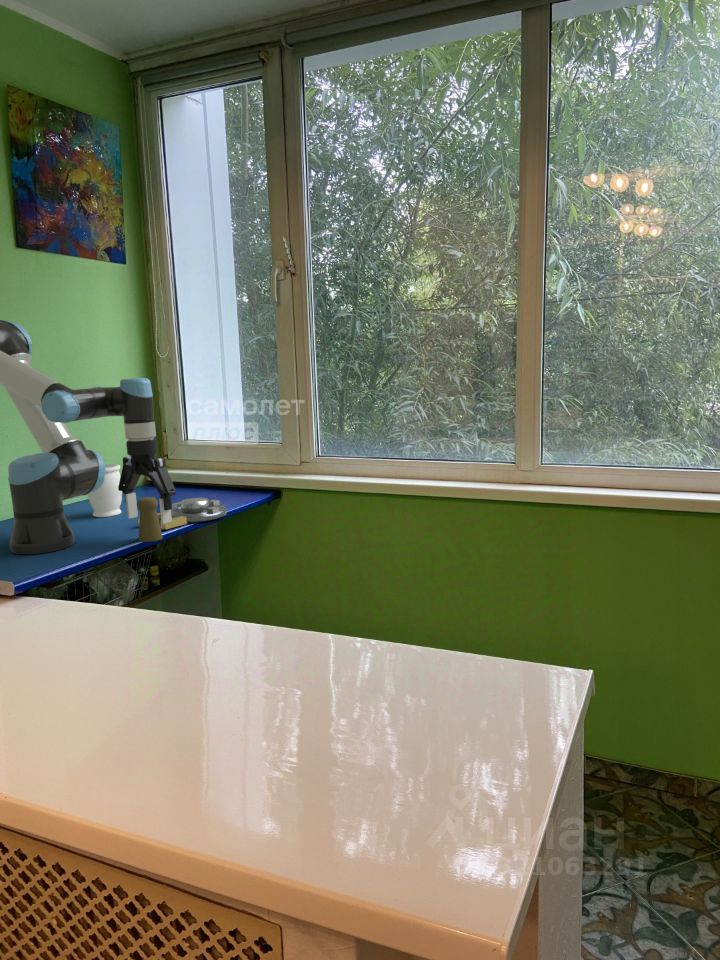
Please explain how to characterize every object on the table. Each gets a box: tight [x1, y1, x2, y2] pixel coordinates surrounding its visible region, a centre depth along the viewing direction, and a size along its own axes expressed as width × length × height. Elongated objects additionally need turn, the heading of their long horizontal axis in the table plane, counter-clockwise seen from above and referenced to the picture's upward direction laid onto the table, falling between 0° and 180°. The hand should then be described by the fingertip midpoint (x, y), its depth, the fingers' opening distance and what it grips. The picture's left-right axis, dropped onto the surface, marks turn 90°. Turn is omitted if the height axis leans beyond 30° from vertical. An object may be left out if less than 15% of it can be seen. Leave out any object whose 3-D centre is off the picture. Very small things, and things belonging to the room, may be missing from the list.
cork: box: [136, 496, 163, 543], centre depth 184 cm, size 6×6×11 cm
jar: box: [87, 463, 123, 518], centre depth 216 cm, size 11×10×15 cm
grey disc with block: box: [137, 497, 227, 530], centre depth 205 cm, size 25×18×4 cm
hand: (149, 520), depth 184 cm, fingers open, 13 cm apart
